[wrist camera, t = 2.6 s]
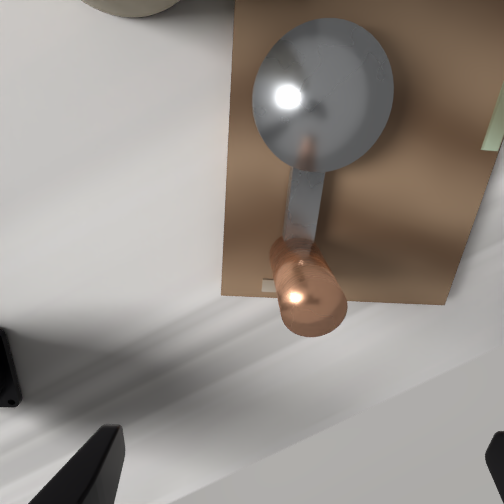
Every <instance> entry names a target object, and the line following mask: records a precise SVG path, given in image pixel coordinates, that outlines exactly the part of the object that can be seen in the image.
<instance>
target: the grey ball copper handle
mask: <svg viewBox="0 0 504 504" xmlns="http://www.w3.org/2000/svg"><path fill="white" fill-rule="evenodd" d="M393 94H394V83H393V75H392V70H391V66H390V63H389V60H388V57H387V55H386V53H385V51H384V49H383V48H382V46H381V45H380V44H379V42H378V41H377V40H376V39H375V38H374V36H373V35H372V34H371V33H369V32H368V31H367V30H365V29H364V28H363V27H361V26H359V25H357V24H355V23H353V22H350V21H347V20H344V19H338V18H321V19H315V20H312V21H308V22H305V23H303V24H301V25H299V26H297V27H295V28H293V29H292V30H290V31H289V32H287V33H286V34H285V35H284V36H283V37H282V38H280V39H279V40H278V41H277V43H276V44H275V45H274V46H273V47H272V48H271V50H270V51H269V53H268V54H267V56H266V57H265V58H264V60H263V62H262V64H261V65H260V67H259V69H258V72H257V75H256V77H255V81H254V85H253V91H252V112H253V117H254V121H255V124H256V127H257V130H258V132H259V134H260V136H261V138H262V139H263V141H264V142H265V144H266V145H267V146H268V148H269V149H270V150H271V151H272V152H273V154H274V155H275V156H276V157H278V158H279V159H280V160H281V161H283V162H284V163H286V164H288V165H289V166H291V167H290V175H289V183H288V192H287V200H286V208H285V217H284V225H283V233H282V236H281V237H280V238H278V239H277V240H276V241H275V242H274V244H273V245H272V247H271V249H270V253H269V260H270V265H271V269H272V274H273V279H274V284H275V288H276V293H277V298H278V303H279V307H280V312H281V317H282V320H283V322H284V324H285V325H286V327H287V328H288V329H289V330H290V331H292V332H293V333H295V334H297V335H300V336H304V337H318V336H322V335H325V334H327V333H329V332H331V331H333V330H334V329H336V328H337V327H338V326H339V325H340V324H341V322H342V321H343V319H344V318H345V316H346V313H347V299H346V297H345V295H344V293H343V291H342V289H341V287H340V286H339V284H338V282H337V280H336V278H335V277H334V275H333V273H332V271H331V269H330V268H329V266H328V264H327V262H326V260H325V259H324V257H323V255H322V253H321V251H320V250H319V248H318V246H317V244H316V243H315V241H314V239H315V233H316V226H317V220H318V214H319V208H320V202H321V195H322V189H323V183H324V177H325V172H328V171H333V170H337V169H340V168H342V167H345V166H347V165H349V164H351V163H352V162H354V161H356V160H357V159H359V158H360V157H361V156H363V155H364V154H365V153H366V152H367V151H368V150H369V149H370V148H371V147H372V146H373V144H374V143H375V142H376V141H377V139H378V138H379V136H380V135H381V133H382V131H383V129H384V128H385V126H386V123H387V121H388V118H389V115H390V112H391V108H392V103H393Z"/></svg>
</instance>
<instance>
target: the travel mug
mask: <svg viewBox="0 0 504 504" xmlns="http://www.w3.org/2000/svg"><path fill="white" fill-rule="evenodd" d="M81 1H83V2H84V3H86V4H88V5H90V6H91V7H93V8H95V9H98V10H100V11H102V12H105V13H108V14H111V15H116V16H120V17H144V16H149V15H153V14H156V13H159V12H162V11H164V10H166V9H168V8H169V7H171V6H173V5H174V4H175V3H177V2H178V1H179V0H81Z"/></svg>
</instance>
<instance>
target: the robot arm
mask: <svg viewBox="0 0 504 504" xmlns="http://www.w3.org/2000/svg"><path fill="white" fill-rule="evenodd" d="M21 401H22V395H21V391H20V387H19V383H18V380H17V376H16V372H15V368H14V364H13V360H12V356H11V352H10V348H9V345H8V341H7V337H6V334H5V332H4V331H3V330H1V329H0V407H17V406H18V405H19V404H20V402H21ZM124 458H125V443H124V435H123V429H122V426H121V425H117V424H106V425H103V426H101V427H100V428H99V429H98V430H97V431H96V432H95V434H94V435H93V436H92V437H91V438H90V439H89V440H88V441H87V442H86V443H85V444H84V445H83V446H82V447H81V448H80V449H79V450H78V452H77V453H76V454H75V455H74V456H73V457H72V458H71V459H70V460H69V461H68V462H67V463H66V464H65V465H64V466H63V467H62V468H61V469H60V471H59V472H58V473H57V474H56V475H55V476H54V477H53V478H52V479H51V480H50V481H49V482H48V483H47V484H46V485H45V486H44V487H43V489H42V490H41V491H40V492H39V493H38V494H37V495H36V496H35V497H34V498H33V499H32V500H31V501H30V502H29V503H28V504H114V501H115V497H116V492H117V488H118V484H119V479H120V475H121V471H122V467H123V462H124ZM485 460H486V464H487V466H488V468H489V471H490V473H491V475H492V478H493V480H494V482H495V484H496V487H497V489H498V492H499V494H500V496H501V499H502V501H503V503H504V431H498V432H496V433H495V434H494V436H493V438H492V440H491V443H490V444H489V446H488V448H487V451H486V453H485Z"/></svg>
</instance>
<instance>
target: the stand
mask: <svg viewBox="0 0 504 504" xmlns="http://www.w3.org/2000/svg"><path fill="white" fill-rule="evenodd" d="M321 18H338V19H344V20H347V21H350V22H353V23H355V24H357V25H359V26H361V27H363V28H364V29H365V30H367V31H368V32H369V33H371V34H372V35H373V36H374V38H375V39H376V40H377V41H378V42H379V44H380V45H381V46H382V48H383V49H384V51H385V53H386V55H387V57H388V60H389V63H390V66H391V70H392V75H393V83H394V94H393V103H392V108H391V112H390V115H389V118H388V121H387V123H386V126H385V128H384V129H383V131H382V133H381V135H380V136H379V138H378V139H377V141H376V142H375V143H374V144H373V146H372V147H371V148H370V149H369V150H368V151H367V152H366V153H365V154H364V155H363V156H361V157H360V158H359V159H357V160H356V161H354V162H352V163H351V164H349V165H347V166H345V167H342V168H340V169H337V170H333V171H328V172H325V177H324V183H323V189H322V195H321V202H320V208H319V214H318V220H317V226H316V233H315V239H314V241H315V243H316V244H317V246H318V248H319V250H320V251H321V253H322V255H323V257H324V259H325V260H326V262H327V264H328V266H329V268H330V269H331V271H332V273H333V275H334V277H335V278H336V280H337V282H338V284H339V286H340V287H341V289H342V291H343V293H344V295H345V297H346V299H347V301H360V302H382V303H405V304H428V305H445V302H446V299H447V297H448V294H449V291H450V288H451V285H452V282H453V280H454V277H455V274H456V271H457V268H458V266H459V263H460V260H461V257H462V254H463V251H464V249H465V246H466V243H467V240H468V237H469V234H470V232H471V229H472V226H473V223H474V220H475V217H476V215H477V212H478V209H479V206H480V203H481V200H482V198H483V195H484V192H485V189H486V186H487V184H488V181H489V178H490V175H491V172H492V169H493V167H494V164H495V161H496V158H497V155H498V152H499V150H500V147H501V144H502V141H503V138H504V0H235V8H234V30H233V51H232V72H231V93H230V115H229V136H228V157H227V178H226V200H225V221H224V242H223V263H222V285H221V295H223V296H245V297H268V298H277V293H276V288H275V284H274V279H273V274H272V269H271V265H270V260H269V253H270V249H271V247H272V245H273V244H274V242H275V241H276V240H277V239H278V238H280V237H281V236H282V233H283V225H284V217H285V208H286V200H287V192H288V183H289V175H290V167H291V166H289V165H288V164H286V163H284V162H283V161H281V160H280V159H279V158H278V157H276V156H275V155H274V154H273V152H272V151H271V150H270V149H269V148H268V146H267V145H266V144H265V142H264V141H263V139H262V138H261V136H260V134H259V132H258V130H257V127H256V124H255V121H254V117H253V112H252V91H253V85H254V81H255V77H256V75H257V72H258V69H259V67H260V65H261V64H262V62H263V60H264V58H265V57H266V56H267V54H268V53H269V51H270V50H271V48H272V47H273V46H274V45H275V44H276V43H277V41H278V40H279V39H280V38H282V37H283V36H284V35H285V34H286V33H287V32H289V31H290V30H292V29H293V28H295V27H297V26H299V25H301V24H303V23H305V22H308V21H312V20H315V19H321Z"/></svg>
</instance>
